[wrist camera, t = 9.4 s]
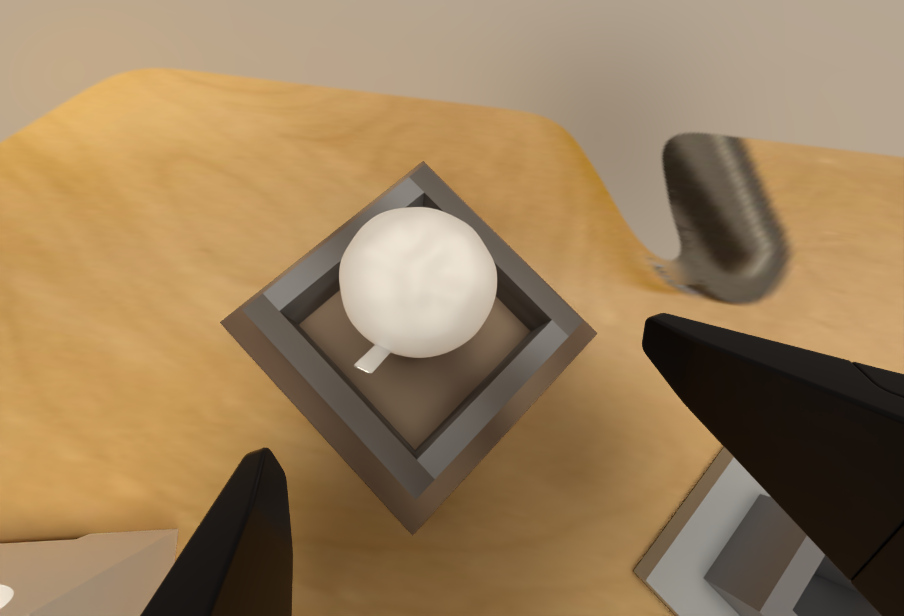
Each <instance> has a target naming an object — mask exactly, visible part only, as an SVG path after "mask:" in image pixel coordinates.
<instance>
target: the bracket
mask: <svg viewBox="0 0 904 616" xmlns="http://www.w3.org/2000/svg"><path fill="white" fill-rule="evenodd" d="M177 538H178V529H165V530H147V531H129V532H112V533H94V534H87V535H85V536H83V537H80V538H78V539H73V540H56V541H38V542H21V543H3V544H0V616H140V615H141V613H142V612H143V610H144V609H145V607H146V606H147V604H148V603H149V601H150V600H151V598H152V596H153V595H154V593H155V592H156V590H157V589H158V587H159V586H160V584H161V583H162V581H163V580H164V578H165V577H166V575H167V574H168V572H169V571H170V569H171V567H172V566H173V564H174V563H175V554H176V546H177Z"/></svg>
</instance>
